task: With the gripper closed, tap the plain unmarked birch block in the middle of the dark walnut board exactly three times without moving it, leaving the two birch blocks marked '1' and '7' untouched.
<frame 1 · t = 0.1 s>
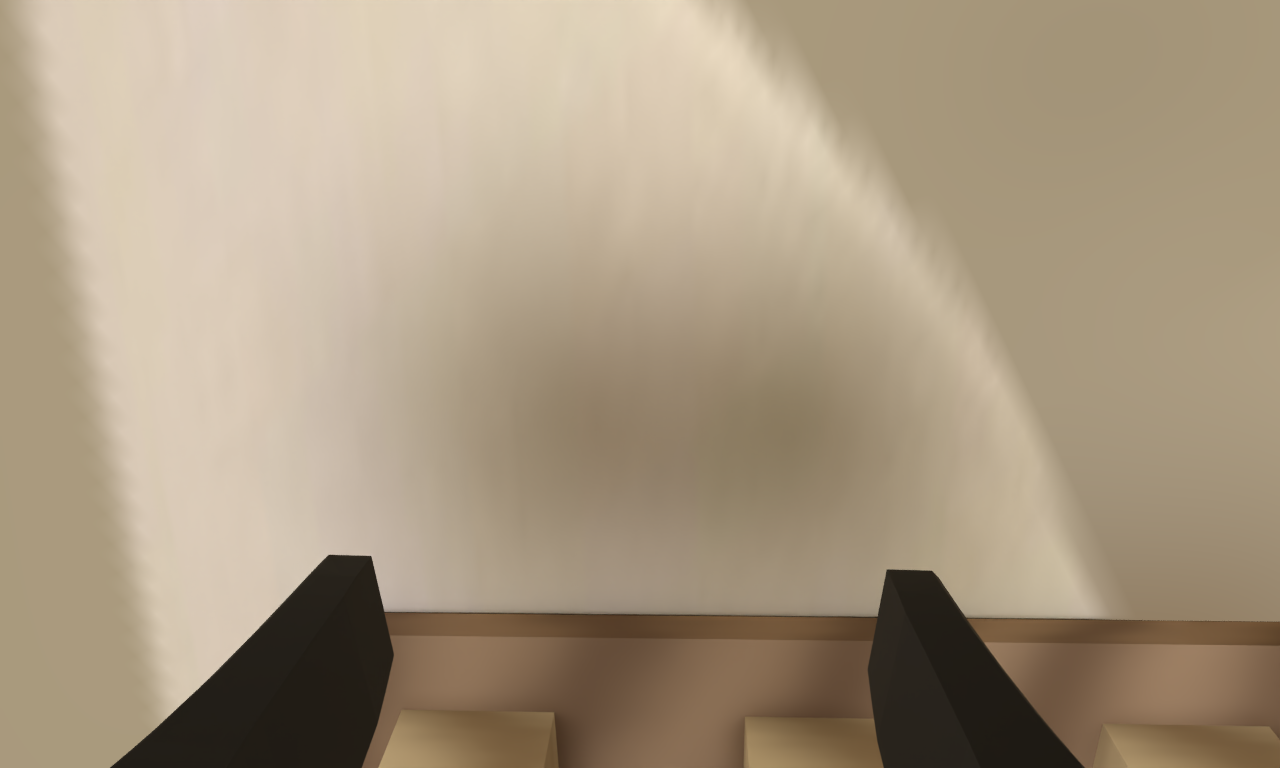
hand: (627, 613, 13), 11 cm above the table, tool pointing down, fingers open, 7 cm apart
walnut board: (815, 750, 27), on the table
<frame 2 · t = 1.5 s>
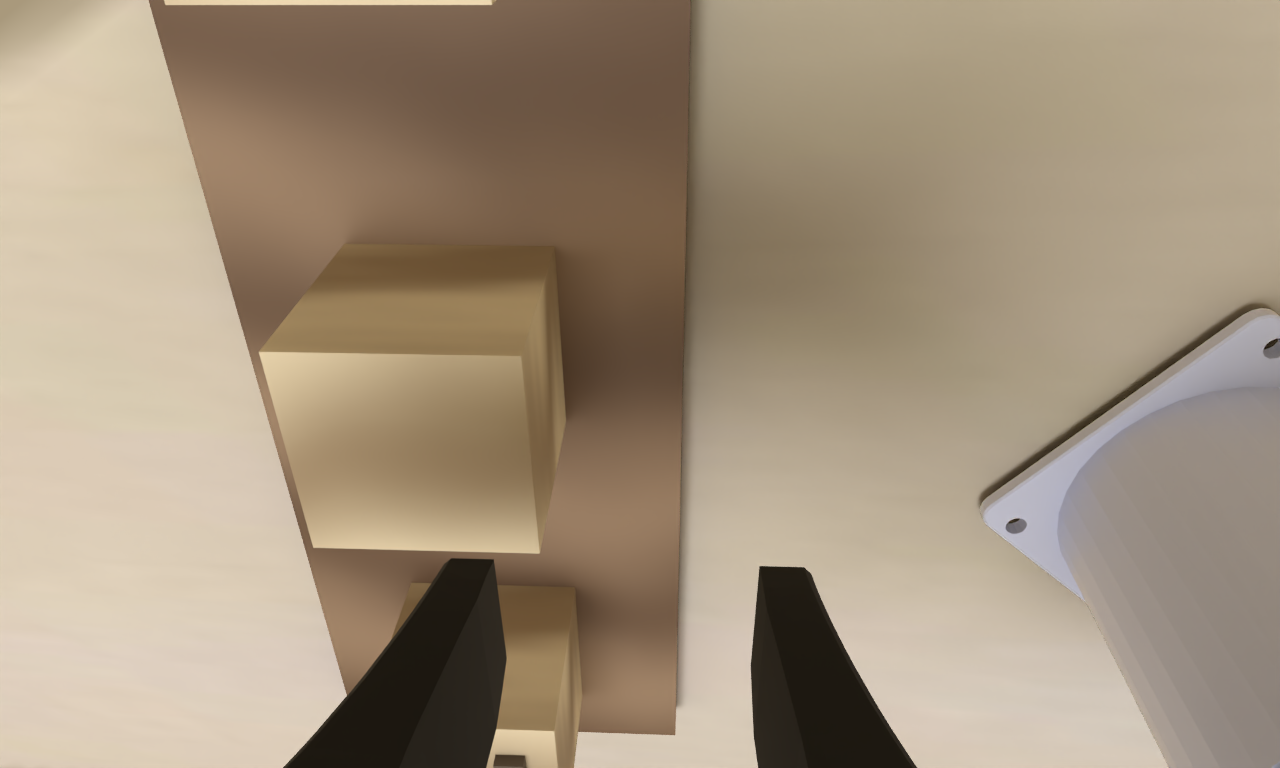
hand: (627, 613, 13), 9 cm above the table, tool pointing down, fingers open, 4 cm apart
block seven: (500, 641, 25), point 1 cm above the table, touching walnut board
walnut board: (470, 316, 21), on the table
plain block: (461, 337, 20), point 1 cm above the table, touching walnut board
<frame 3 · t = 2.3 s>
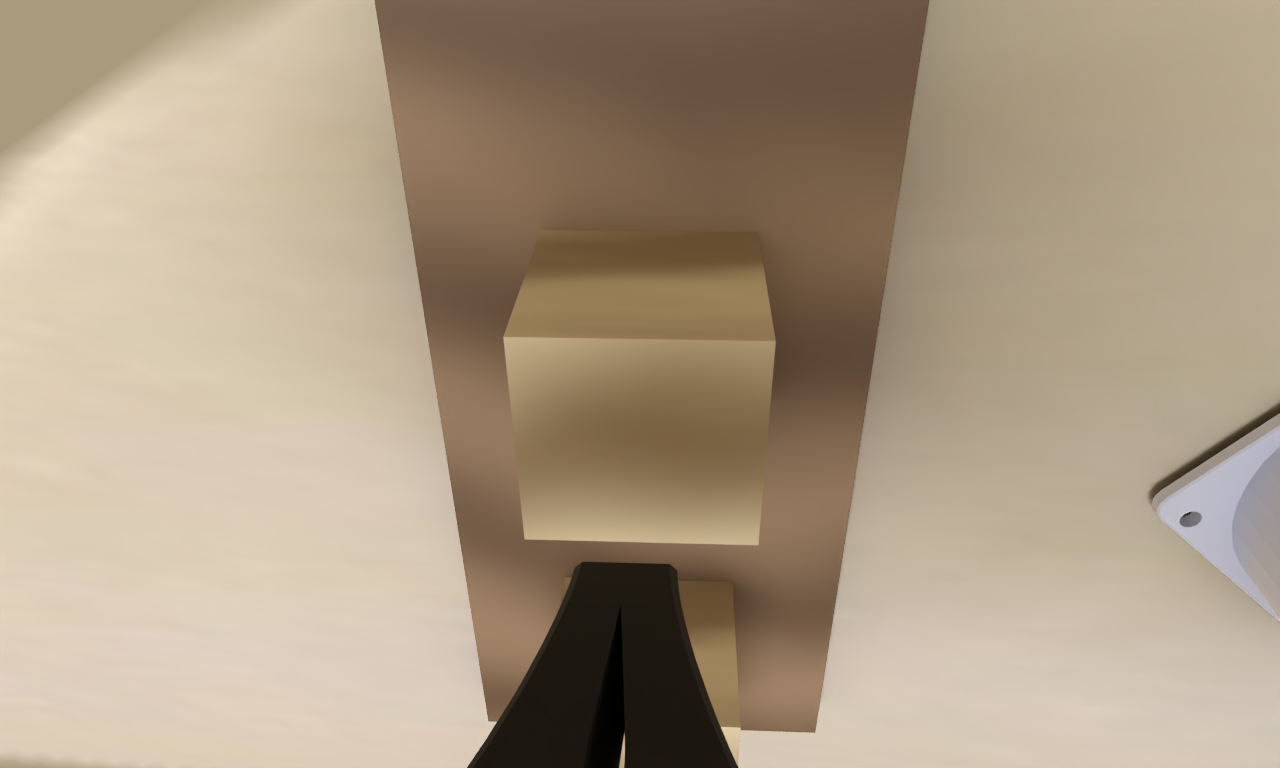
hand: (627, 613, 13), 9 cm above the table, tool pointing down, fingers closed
block seven: (648, 637, 25), point 1 cm above the table, touching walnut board
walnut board: (650, 304, 21), on the table
plain block: (649, 326, 20), point 1 cm above the table, touching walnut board
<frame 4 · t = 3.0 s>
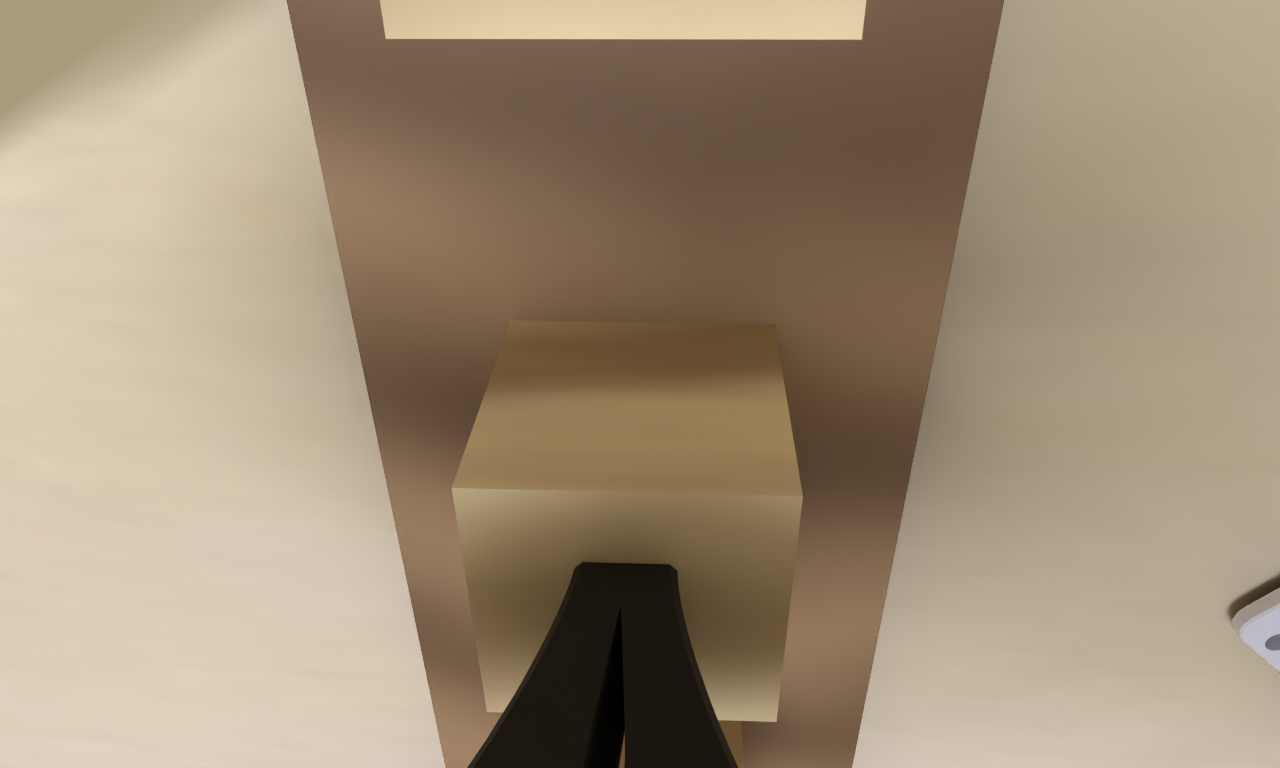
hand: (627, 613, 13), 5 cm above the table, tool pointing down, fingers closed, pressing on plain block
block seven: (643, 762, 22), point 1 cm above the table, touching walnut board
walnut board: (644, 399, 17), on the table
plain block: (642, 429, 16), point 1 cm above the table, touching gripper, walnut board
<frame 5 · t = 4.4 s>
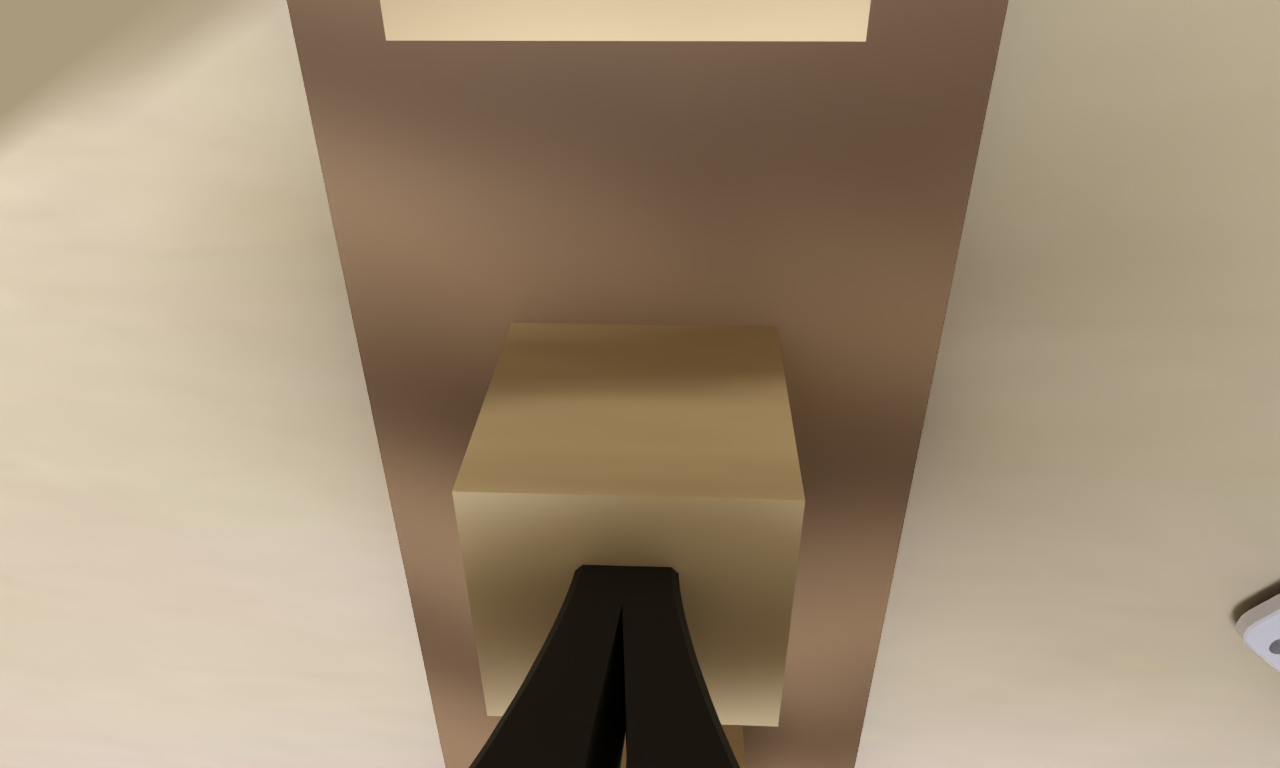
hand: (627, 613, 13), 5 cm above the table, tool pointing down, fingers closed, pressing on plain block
block seven: (644, 765, 22), point 1 cm above the table, touching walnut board
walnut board: (646, 401, 17), on the table
plain block: (644, 432, 16), point 1 cm above the table, touching gripper, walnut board
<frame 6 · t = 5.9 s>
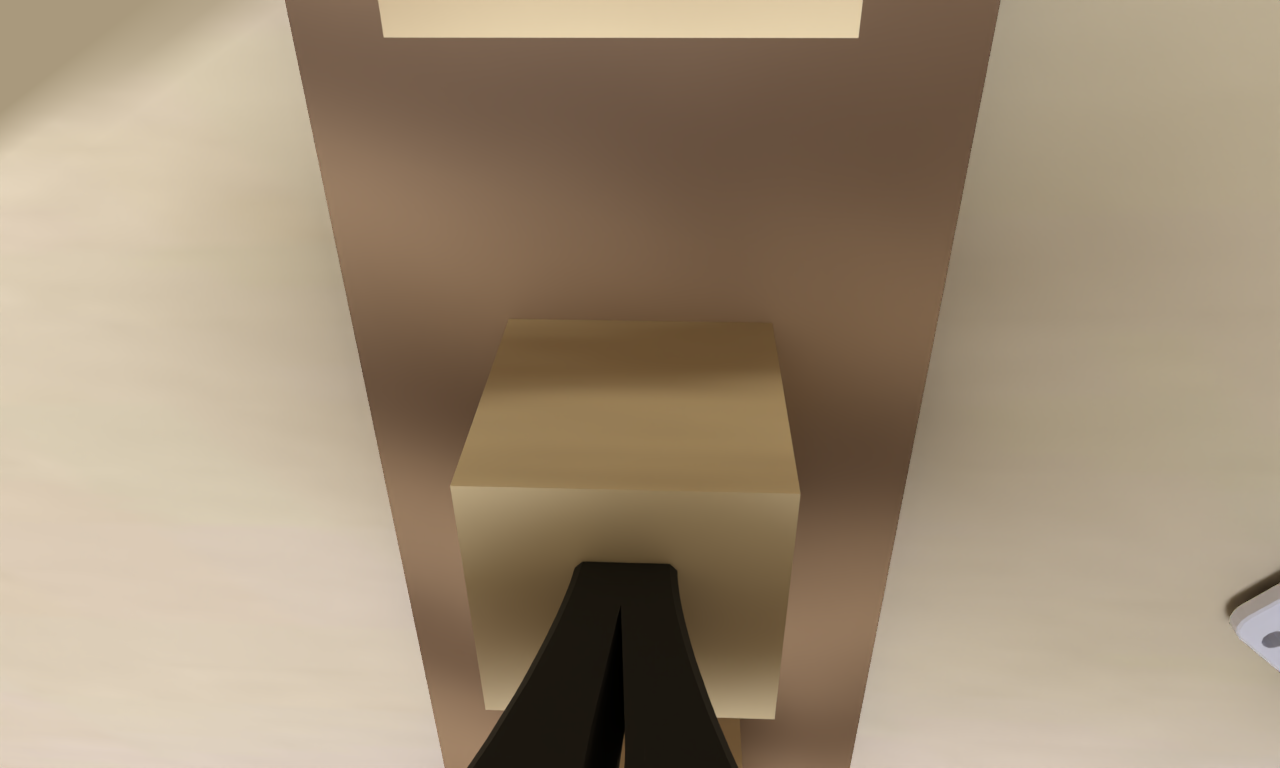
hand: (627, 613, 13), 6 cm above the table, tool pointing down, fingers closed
block seven: (641, 760, 22), point 1 cm above the table, touching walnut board
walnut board: (643, 398, 17), on the table
plain block: (640, 428, 16), point 1 cm above the table, touching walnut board
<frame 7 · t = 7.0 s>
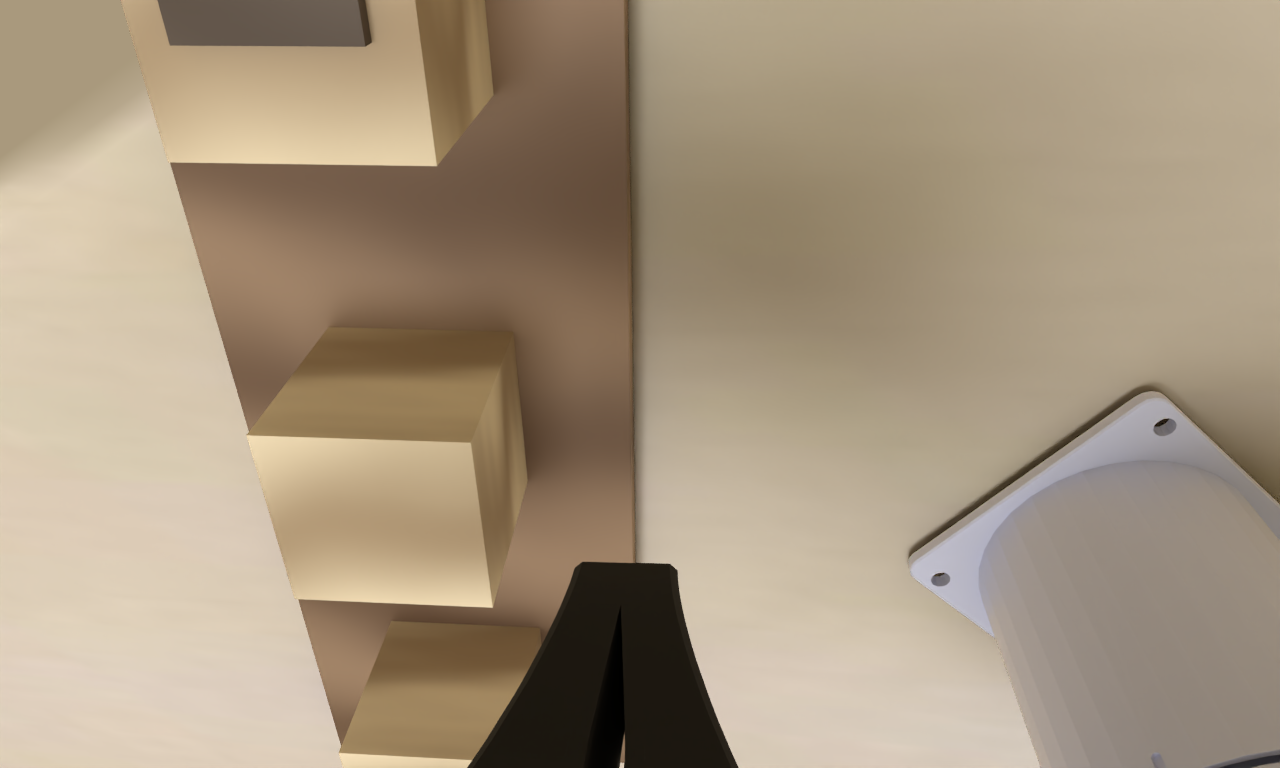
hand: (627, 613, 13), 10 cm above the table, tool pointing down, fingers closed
block seven: (473, 675, 28), point 1 cm above the table, touching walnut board
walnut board: (442, 386, 23), on the table
plain block: (432, 407, 22), point 1 cm above the table, touching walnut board
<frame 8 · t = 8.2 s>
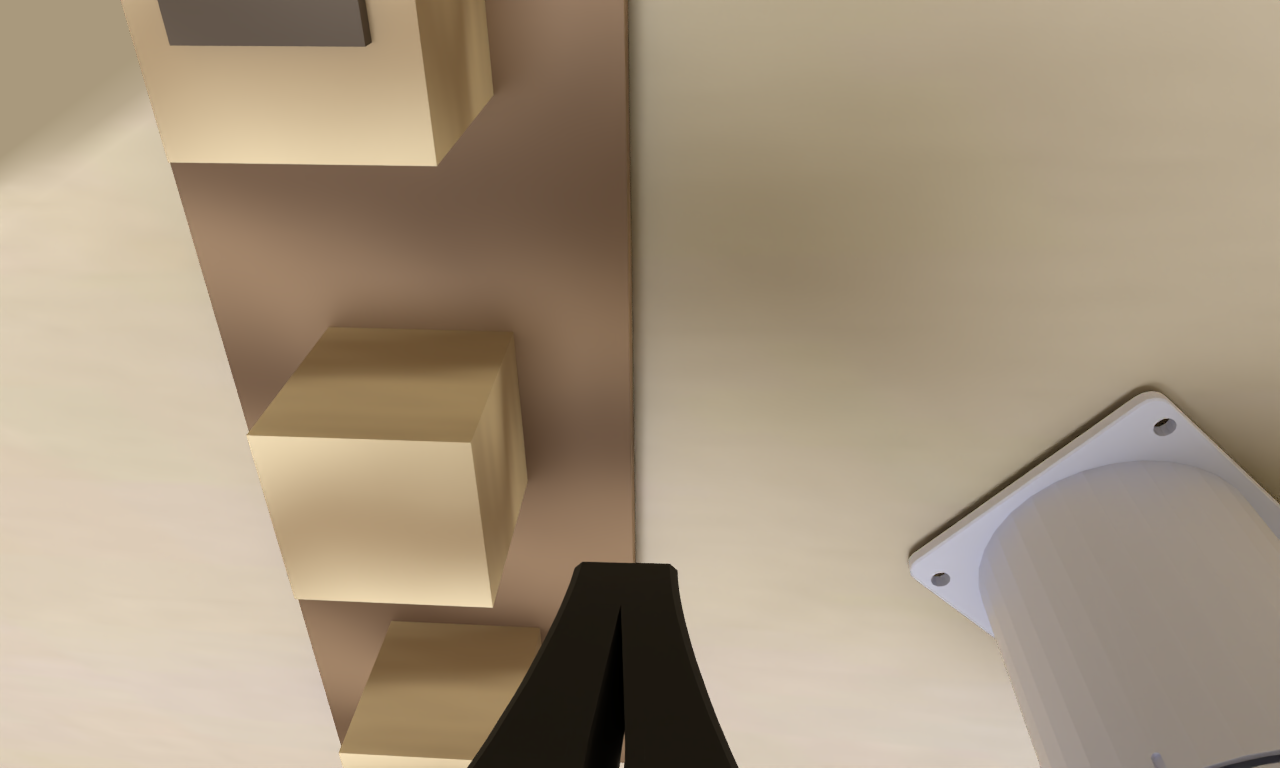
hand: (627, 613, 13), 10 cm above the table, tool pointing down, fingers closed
block seven: (473, 675, 28), point 1 cm above the table, touching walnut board
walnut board: (442, 386, 23), on the table
plain block: (432, 407, 22), point 1 cm above the table, touching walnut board
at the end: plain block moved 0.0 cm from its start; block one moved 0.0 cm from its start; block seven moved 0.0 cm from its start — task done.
